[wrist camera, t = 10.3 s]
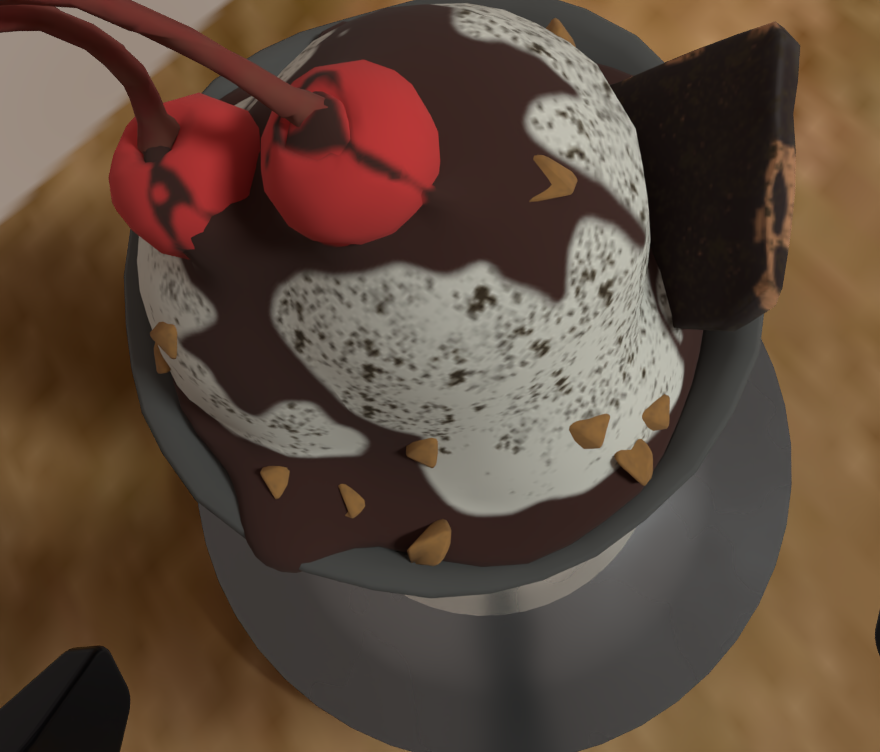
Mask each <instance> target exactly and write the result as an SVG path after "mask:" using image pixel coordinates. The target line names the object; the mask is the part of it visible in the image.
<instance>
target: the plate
mask: <svg viewBox="0 0 880 752" xmlns="http://www.w3.org/2000/svg"><path fill="white" fill-rule="evenodd" d="M790 493H791V442H790V435H789V429H788V422H787V416H786V409H785V404H784V400H783V397H782V394H781V390H780V387H779V383H778V380H777V377H776V373H775V370H774V367H773V364H772V362H771V360H770V358H769V355H768V353H767V351H766V349H765V346H764V344H763V342H762V340H761V343H760V352H759V356H758V358H757V360H756V363H755V365H754V367H753V369H752V372H751V374H750V376H749V379H748V381H747V383H746V386H745V388H744V390H743V392H742V395H741V397H740V399H739V402H738V404H737V406H736V409H735V411H734V413H733V415H732V416H731V418H730V420H729V421H728V423H727V424H726V426H725V428H724V429H723V431H722V432H721V434H720V436H719V437H718V439H717V440H716V442H715V444H714V445H713V447H712V448H711V450H710V452H709V453H708V455H707V456H706V458H705V460H704V461H703V463H702V464H701V466H700V468H699V469H698V471H697V472H696V473H695V474H694V475H693V476H692V477H691V478H690V479H689V480H688V481H687V482H685V483H684V484H683V485H682V486H681V487H680V488H679V489H678V490H677V491H676V492H675V493H674V494H673V495H672V496H671V497H670V498H669V499H667V500H666V501H665V502H664V503H663V504H662V505H661V506H660V507H659V508H658V509H657V510H656V511H655V512H654V513H653V514H652V515H650V516H649V517H648V518H647V519H646V520H645V521H644V522H643V523H641V524H640V525H638V526H637V527H636V528H634V529H633V530H632V531H630V532H629V533H628V534H626V535H625V536H624V537H622V538H621V539H620V540H618V541H617V542H616V543H614V544H613V545H611V546H610V547H609V548H607V549H606V550H605V551H603V552H602V553H601V554H599V555H598V556H597V557H594V558H592V559H590V560H588V561H585V562H583V563H581V564H579V565H576V566H574V567H572V568H570V569H567V570H565V571H563V572H561V573H558V574H556V575H554V576H552V577H550V578H547V579H545V580H543V581H539V582H535V583H531V584H527V585H523V586H519V587H515V588H511V589H507V590H504V591H500V592H496V593H492V594H483V595H470V596H457V597H444V598H424V597H417V596H410V595H403V594H396V593H389V592H382V591H374V590H370V589H366V588H362V587H358V586H355V585H351V584H347V583H343V582H339V581H336V580H332V579H328V578H324V577H320V576H317V575H313V574H309V573H305V572H303V571H302V572H298V573H287V572H280V571H277V570H275V569H273V568H270V567H268V566H266V565H265V564H263V563H262V562H261V561H260V560H259V559H258V558H256V557H255V555H254V553H253V552H252V550H251V548H250V546H249V545H248V543H247V541H246V539H245V538H243V537H242V536H241V535H240V534H238V533H237V532H236V531H234V530H233V529H232V528H231V527H229V526H228V525H227V524H225V523H224V522H223V521H222V520H220V519H219V518H218V517H216V516H215V515H214V514H213V513H211V512H210V511H209V510H207V509H206V508H205V507H204V506H202V505H201V504H200V503H198V507H199V512H200V517H201V522H202V527H203V532H204V537H205V542H206V546H207V548H208V551H209V554H210V557H211V560H212V563H213V566H214V569H215V572H216V575H217V578H218V581H219V583H220V585H221V587H222V589H223V591H224V593H225V595H226V597H227V599H228V601H229V603H230V605H231V607H232V609H233V611H234V613H235V615H236V617H237V618H238V620H239V621H240V623H241V624H242V626H243V627H244V629H245V630H246V632H247V633H248V634H249V636H250V637H251V639H252V640H253V642H254V643H255V645H256V646H257V648H258V649H259V650H260V651H261V653H262V654H263V655H264V656H265V657H266V658H267V659H268V660H269V661H270V663H271V664H272V665H273V666H274V667H275V668H276V669H277V670H278V672H279V673H280V674H281V675H282V676H283V677H284V678H285V679H286V680H287V681H288V682H289V683H290V684H292V685H293V686H294V687H295V688H296V689H298V690H299V691H300V692H301V693H302V694H303V695H305V696H306V697H307V698H308V699H309V700H311V701H312V702H313V703H314V704H315V705H316V706H318V707H320V708H321V709H323V710H324V711H326V712H327V713H329V714H331V715H332V716H334V717H335V718H337V719H338V720H340V721H342V722H343V723H345V724H346V725H348V726H350V727H351V728H353V729H355V730H357V731H360V732H362V733H364V734H366V735H369V736H371V737H373V738H375V739H377V740H380V741H382V742H384V743H386V744H389V745H391V746H394V747H398V748H401V749H405V750H408V751H412V752H577V751H581V750H584V749H587V748H590V747H594V746H597V745H600V744H603V743H605V742H607V741H609V740H612V739H614V738H616V737H618V736H620V735H622V734H624V733H626V732H629V731H631V730H633V729H635V728H637V727H639V726H641V725H643V724H644V723H646V722H647V721H649V720H650V719H652V718H653V717H655V716H656V715H658V714H659V713H661V712H662V711H664V710H665V709H667V708H668V707H670V706H671V705H673V704H675V703H676V702H677V701H679V700H680V699H681V698H682V697H683V696H684V695H685V694H686V693H688V692H689V691H690V690H691V689H692V688H693V687H694V686H695V685H696V684H698V683H699V682H700V681H701V680H702V679H703V678H704V677H705V676H706V675H708V674H709V673H710V672H711V670H712V669H713V668H714V667H715V666H716V664H717V663H718V662H719V661H720V660H721V658H722V657H723V656H724V655H725V654H726V652H727V651H728V650H729V649H730V648H731V646H732V645H733V644H734V643H735V642H736V640H737V639H738V637H739V636H740V634H741V632H742V631H743V629H744V627H745V626H746V624H747V623H748V621H749V619H750V618H751V616H752V614H753V613H754V611H755V610H756V608H757V606H758V605H759V603H760V600H761V598H762V596H763V593H764V591H765V589H766V586H767V584H768V582H769V579H770V577H771V575H772V573H773V570H774V568H775V566H776V562H777V558H778V555H779V551H780V547H781V544H782V540H783V536H784V532H785V529H786V525H787V517H788V509H789V501H790Z"/></svg>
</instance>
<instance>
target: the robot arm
mask: <svg viewBox="0 0 880 752" xmlns="http://www.w3.org/2000/svg"><path fill="white" fill-rule="evenodd" d="M875 641H876V646H877V650H878V653H879V655H880V611H879V616H878V620H877V624H876V629H875ZM129 710H130V694H129V690H128V687H127V685H126V683H125V681H124V679H123V677H122V675H121V673H120V671H119V669H118V667H117V665H116V663H115V661H114V659H113V657H112V655H111V653H110V652H109V650H108V649H106V648H105V647H103V646H89V647H77V648H72V649H69V650H68V651H66V652H65V653H63V654H62V655H61V656H60V657H58V658H57V659H56V660H55V661H54V662H53V663H52V664H50V665H49V666H48V667H47V668H46V669H45V670H44V671H43V672H41V673H40V674H39V675H38V676H37V677H36V678H35V679H33V680H32V681H31V682H30V683H29V684H28V685H27V686H25V687H24V688H23V689H22V690H21V691H20V692H19V693H18V694H16V695H15V696H14V697H13V698H12V699H11V700H10V701H8V702H7V703H6V704H5V705H4V706H3V707H2V708H1V709H0V752H120V749H121V745H122V741H123V737H124V732H125V728H126V724H127V719H128V715H129Z"/></svg>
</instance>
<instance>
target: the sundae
mask: <svg viewBox="0 0 880 752" xmlns="http://www.w3.org/2000/svg"><path fill="white" fill-rule="evenodd" d="M56 7H70V8H78V9H80V10H82V11H85V12H87V13H89V14H91V15H94V16H96V17H98V18H101V19H103V20H105V21H108V22H110V23H112V24H115V25H117V26H119V27H122V28H124V29H126V30H129V31H133V32H136V33H139V34H141V35H143V36H145V37H147V38H149V39H151V40H153V41H155V42H157V43H159V44H161V45H163V46H165V47H168V48H170V49H172V50H174V51H176V52H178V53H180V54H182V55H184V56H186V57H188V58H190V59H192V60H194V61H196V62H198V63H199V64H201V65H203V66H205V67H207V68H209V69H211V70H212V71H214V72H216V73H217V74H219V75H221V76H219V77H218V78H216V79H214V80H213V81H212V82H211V83H210V84H209V86H208V87H207V88H206V89H205V90H204V91H203V92H202V93H196V94H193V95H189V96H186V97H182V98H179V99H175V100H172V101H168V102H165V103H163V102H162V100H161V98H160V95H159V93H158V91H157V89H156V87H155V86H154V84H153V82H152V80H151V78H150V76H149V74H148V72H147V71H146V69H145V67H144V66H143V65H142V64H141V63H140V62H139V61H138V60H137V59H136V58H135V57H134V56H133V55H132V54H131V53H130V52H128V51H127V50H126V49H125V47H124V45H122V44H121V43H119V42H118V41H117V40H115V39H114V38H112V37H111V36H110V35H108V34H107V33H105V32H104V31H102V30H101V29H100V28H98V27H97V26H95V25H94V24H92V23H89V22H87V21H84V20H82V19H79V18H77V17H74V16H72V15H70V14H67V13H65V12H62V11H60V10H59V9H58V8H56ZM13 31H42V32H44V33H47V34H49V35H51V36H54V37H56V38H59V39H61V40H63V41H66V42H68V43H70V44H73V45H75V46H78V47H80V48H82V49H85V50H86V51H87V52H89V53H90V54H91V55H92V56H94V57H95V58H96V59H97V60H99V61H100V62H101V63H102V64H103V65H105V66H106V67H107V69H108V70H109V71H110V72H111V73H112V74H113V75H114V76H115V77H116V78H117V79H118V80H119V81H120V83H121V84H122V85H123V86H124V87H125V90H126V92H127V94H128V96H129V98H130V101H131V104H132V107H133V111H134V114H135V117H134V118H133V119H132V120H131V121H130V123H129V124H128V125H127V126H126V128H125V130H124V132H123V135H122V137H121V139H120V141H119V144H118V146H117V148H116V150H115V153H114V155H113V159H112V164H111V169H110V173H109V184H110V191H111V198H112V203H113V205H114V207H115V209H116V211H117V212H118V213H119V214H120V216H121V217H122V218H123V219H124V221H125V222H126V223H127V225H128V226H129V227H130V228H131V229H130V236H129V243H128V250H127V257H126V264H125V272H124V290H125V314H126V330H127V337H128V345H129V352H130V360H131V368H132V373H133V377H134V381H135V385H136V389H137V394H138V398H139V402H140V406H141V410H142V414H143V416H144V418H145V420H146V422H147V424H148V426H149V428H150V430H151V432H152V434H153V436H154V438H155V440H156V442H157V444H158V446H159V448H160V450H161V452H162V454H163V455H164V456H165V458H166V459H167V461H168V462H169V463H170V465H171V466H172V468H173V469H174V470H175V472H176V473H177V475H178V476H179V478H180V479H181V480H182V482H183V483H184V485H185V486H186V487H187V489H188V490H189V492H190V493H191V494H192V496H193V497H194V499H195V500H196V501H197V502H198V503H200V504H201V505H202V506H204V507H205V508H206V509H207V510H209V511H210V512H211V513H213V514H214V515H215V516H216V517H218V518H219V519H220V520H222V521H223V522H224V523H225V524H227V525H228V526H229V527H231V528H232V529H233V530H234V531H236V532H237V533H238V534H240V535H241V536H242V537H243V538H245V539H246V541H247V543H248V545H249V546H250V548H251V550H252V552H253V553H254V555H255V557H256V558H258V559H259V560H260V561H261V562H262V563H263V564H265V565H266V566H268V567H270V568H273V569H275V570H277V571H280V572H287V573H298V572H302V571H303V572H305V573H309V574H313V575H317V576H320V577H324V578H328V579H332V580H336V581H339V582H343V583H347V584H351V585H355V586H358V587H362V588H366V589H370V590H374V591H382V592H389V593H396V594H403V595H410V596H417V597H424V598H444V597H457V596H470V595H483V594H492V593H496V592H500V591H504V590H507V589H511V588H515V587H519V586H523V585H527V584H531V583H535V582H539V581H543V580H545V579H547V578H550V577H552V576H554V575H556V574H558V573H561V572H563V571H565V570H567V569H570V568H572V567H574V566H576V565H579V564H581V563H583V562H585V561H588V560H590V559H592V558H594V557H597V556H598V555H599V554H601V553H602V552H603V551H605V550H606V549H607V548H609V547H610V546H611V545H613V544H614V543H616V542H617V541H618V540H620V539H621V538H622V537H624V536H625V535H626V534H628V533H629V532H630V531H632V530H633V529H634V528H636V527H637V526H638V525H640V524H641V523H643V522H644V521H645V520H646V519H647V518H648V517H649V516H650V515H652V514H653V513H654V512H655V511H656V510H657V509H658V508H659V507H660V506H661V505H662V504H663V503H664V502H665V501H666V500H667V499H669V498H670V497H671V496H672V495H673V494H674V493H675V492H676V491H677V490H678V489H679V488H680V487H681V486H682V485H683V484H684V483H685V482H687V481H688V480H689V479H690V478H691V477H692V476H693V475H694V474H695V473H696V472H697V471H698V469H699V468H700V466H701V464H702V463H703V461H704V460H705V458H706V456H707V455H708V453H709V452H710V450H711V448H712V447H713V445H714V444H715V442H716V440H717V439H718V437H719V436H720V434H721V432H722V431H723V429H724V428H725V426H726V424H727V423H728V421H729V420H730V418H731V416H732V415H733V413H734V411H735V409H736V406H737V404H738V402H739V399H740V397H741V395H742V392H743V390H744V388H745V386H746V383H747V381H748V379H749V376H750V374H751V372H752V369H753V367H754V365H755V363H756V360H757V358H758V356H759V352H760V343H761V334H762V325H763V316H764V313H765V312H767V311H768V310H770V309H771V308H773V307H775V306H776V303H777V300H778V298H779V295H780V293H781V290H782V287H783V280H784V274H785V268H786V262H787V255H788V249H789V243H790V235H791V225H792V216H793V207H794V198H795V165H796V149H795V134H794V120H793V111H794V104H795V97H796V90H797V83H798V71H799V56H800V45H799V44H798V42H797V41H796V40H795V39H794V38H793V37H792V36H791V35H790V34H789V33H788V32H787V31H786V30H785V28H783V27H782V26H781V25H779V24H778V23H777V22H772V23H769V24H766V25H763V26H760V27H757V28H755V29H752V30H749V31H746V32H743V33H740V34H737V35H734V36H732V37H729V38H726V39H724V40H721V41H718V42H715V43H713V44H710V45H707V46H705V47H702V48H699V49H697V50H694V51H692V52H689V53H687V54H684V55H682V56H680V57H677V58H675V59H672V60H670V61H667V62H665V63H664V62H663V61H662V60H661V59H660V58H659V57H658V56H657V55H656V54H655V53H654V52H653V51H652V50H651V49H650V48H649V47H648V46H647V45H646V44H645V43H644V42H643V41H642V40H641V39H640V38H639V37H637V36H636V35H634V34H632V33H631V32H629V31H627V30H625V29H623V28H621V27H619V26H617V25H615V24H614V23H612V22H610V21H608V20H606V19H604V18H602V17H600V16H598V15H597V14H595V13H593V12H591V11H589V10H587V9H585V8H582V7H579V6H575V5H572V4H569V3H566V2H563V1H559V0H413V1H409V2H405V3H402V4H398V5H394V6H390V7H387V8H383V9H379V10H376V11H372V12H369V13H365V14H361V15H358V16H354V17H351V18H347V19H343V20H340V21H337V22H333V23H330V24H326V25H323V26H319V27H316V28H313V29H309V30H306V31H302V32H300V33H297V34H295V35H293V36H291V37H289V38H286V39H284V40H282V41H280V42H278V43H276V44H273V45H271V46H269V47H267V48H265V49H262V50H260V51H259V52H257V53H255V54H254V55H252V56H251V57H249V58H247V59H245V58H243V57H241V56H239V55H237V54H235V53H233V52H231V51H229V50H227V49H226V48H224V47H223V46H221V45H219V44H218V43H216V42H214V41H213V40H211V39H209V38H208V37H206V36H205V35H203V34H201V33H200V32H198V31H196V30H195V29H193V28H191V27H189V26H186V25H184V24H182V23H180V22H178V21H176V20H173V19H171V18H169V17H167V16H165V15H162V14H160V13H158V12H156V11H154V10H151V9H149V8H147V7H145V6H143V5H140V4H138V3H136V2H134V1H132V0H0V33H1V32H13Z"/></svg>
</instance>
